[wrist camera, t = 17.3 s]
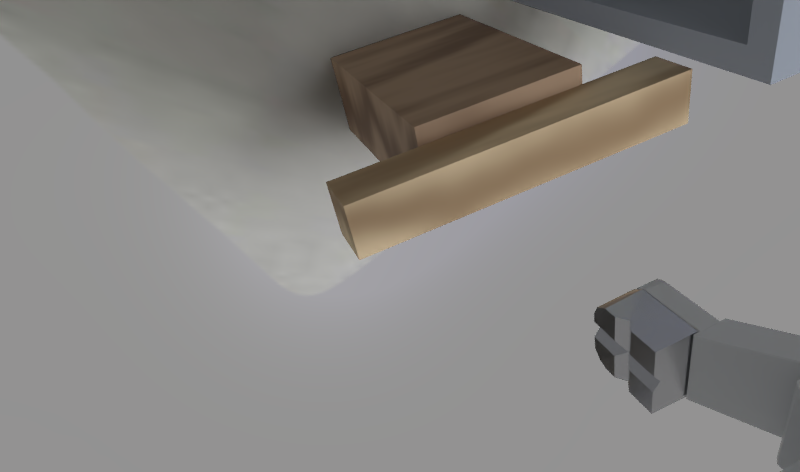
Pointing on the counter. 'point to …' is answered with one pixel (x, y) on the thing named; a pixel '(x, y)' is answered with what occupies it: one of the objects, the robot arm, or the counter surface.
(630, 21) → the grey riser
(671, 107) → the oak slat
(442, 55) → the walnut block
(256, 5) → the counter surface
